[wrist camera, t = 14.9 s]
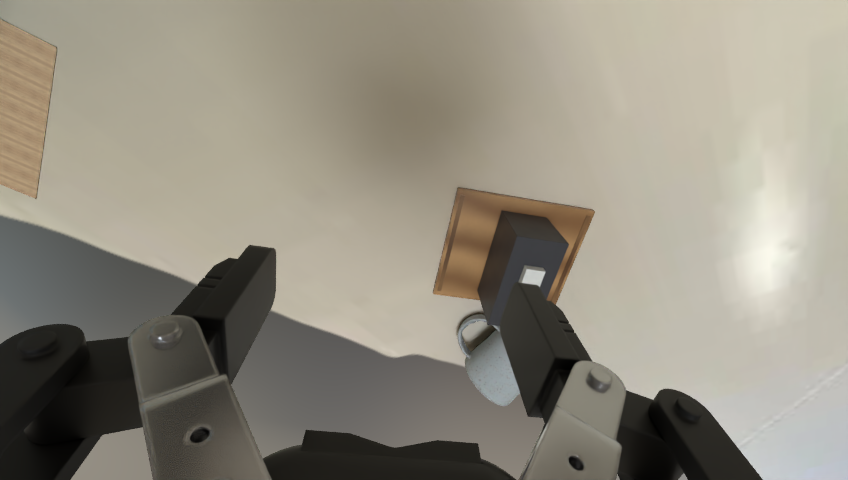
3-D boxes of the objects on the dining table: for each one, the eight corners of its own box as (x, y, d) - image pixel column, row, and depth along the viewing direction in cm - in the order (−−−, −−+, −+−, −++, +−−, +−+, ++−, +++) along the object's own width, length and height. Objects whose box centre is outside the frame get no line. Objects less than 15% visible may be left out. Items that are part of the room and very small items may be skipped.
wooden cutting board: (457, 187, 41) (458, 189, 40) (593, 209, 42) (595, 211, 42) (433, 291, 47) (433, 294, 46) (552, 306, 49) (553, 310, 48)
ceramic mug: (540, 333, 51) (560, 377, 44) (501, 370, 53) (514, 417, 47) (481, 297, 48) (492, 338, 41) (442, 338, 50) (447, 382, 44)
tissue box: (501, 210, 41) (519, 239, 35) (546, 217, 42) (572, 247, 36) (477, 290, 46) (488, 329, 40) (518, 296, 47) (536, 335, 40)
